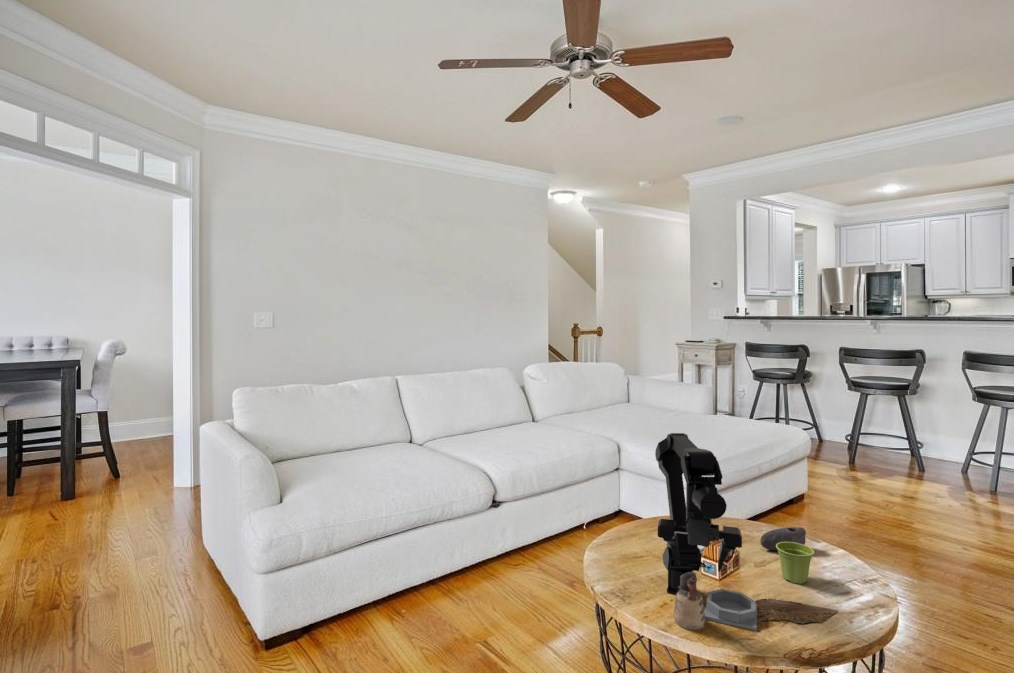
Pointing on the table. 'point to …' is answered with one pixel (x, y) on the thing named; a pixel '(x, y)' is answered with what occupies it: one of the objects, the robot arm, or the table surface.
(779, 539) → the perforated stone tool
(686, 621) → the figurine
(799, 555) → the plant pot
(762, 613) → the wooden fragment
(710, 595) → the tray
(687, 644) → the table surface
